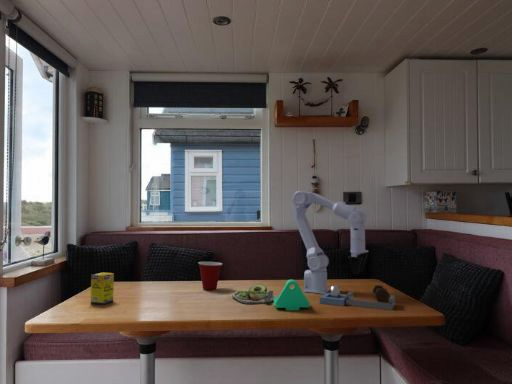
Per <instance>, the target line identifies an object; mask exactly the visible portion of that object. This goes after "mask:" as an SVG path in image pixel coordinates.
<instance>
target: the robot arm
mask: <svg viewBox="0 0 512 384" xmlns="http://www.w3.org/2000/svg"><path fill="white" fill-rule="evenodd" d="M291 203H292V211H291V214H292V217H293V219H294V222H295V224H296V227H297V229H298V231H299V234H300V236H301V238H302V241H303V244H304V246H305V249H306V256H305V257H306V258H307V266H308V268H309V269H306V270H304V276H303V293H314V294H322V295H324V294H325V293H329V292H330V291H331V288H328V272H327V271H328V270H327V267H328V266H329V265H330V263H329V262H330V261H329V257H328V256H327V255H326V254H325V253H324V250H323V249H322V248H321V247H320V246H319V244H318V242H317V240H316V236H315V234H314V232H313V229H312V227H311V225H310V222H309V220H308V218H307V215H306V212H307V211H308V208H309V207H310V206H312V204H318V205H320V206H322V207H325V208H327V209H330V210H332V212H333V214H334V215H336V216H337V217H340V218H342V219H345V220H347V221H348V222H349V223H350V251H349V252H350V253H351V254H350V255H348V256H347V259H348V261H349V263H350V266H351V269H352V270H351V271H352V274H353V275H357V276H359V274H360V272H364V268H365V263H366V260H367V257H368V256H369V255H368V253H369V250H368V249H366V228H365V222H366V220H367V214H366V213H365V211H363V210H362V209H357V207H355V206H351V205H348V204H347V202H346V201H342V202H341V201H337V202H334V201H332V200H331V199H329V198H326V197H324V196H322V195H320V194H317V193H316V192H311V191H309V190H308V191H306V190H305V191H304V190H297V191H295V193H294V194H293V195H292V198H291Z"/></svg>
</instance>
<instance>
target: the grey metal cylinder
mask: <svg viewBox="0 0 512 384" xmlns="http://www.w3.org/2000/svg"><path fill="white" fill-rule="evenodd" d="M340 288H341V287H340V285H334V284H333V285H330V293H331V298H340V294H341V289H340Z"/></svg>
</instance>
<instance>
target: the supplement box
mask: <svg viewBox="0 0 512 384" xmlns="http://www.w3.org/2000/svg"><path fill="white" fill-rule="evenodd" d="M114 274H115V273H114V272H113V273H112V272H100V273H99V272H98V273H94V274H91V275H90V277H91V278H90V279H91V281H90V304H91V305H100V306H104V305H106V304H109V303H113V302H114V285H115V283H114V280H115V275H114Z"/></svg>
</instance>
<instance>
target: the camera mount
mask: <svg viewBox="0 0 512 384" xmlns="http://www.w3.org/2000/svg"><path fill="white" fill-rule="evenodd" d="M292 285H293V287H292V288H291V286H292ZM273 304H274V307H275V308H276V309H278V308H279V309H280V308H281V309H282V308H283V309H284V308H285V310H286V311H299V310H300V308H310V302H309V300H308V298H307V297H306V295H305V292H304V291H303V290H302V289H301V287H300V285H299V283H298V282H297V281H296V280H294V279H287V281H285V284H284V287H283V289H282V290H281V291H280V294H279V295H278V296H277V298H274V301H273Z"/></svg>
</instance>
